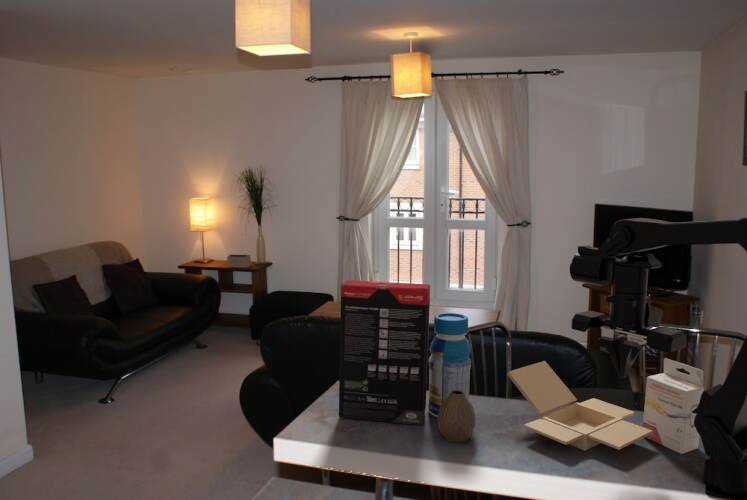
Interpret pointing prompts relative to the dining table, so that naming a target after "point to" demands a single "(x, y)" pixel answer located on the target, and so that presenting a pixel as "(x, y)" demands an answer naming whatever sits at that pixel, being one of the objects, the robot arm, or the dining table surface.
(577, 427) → the carton
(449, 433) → the vase
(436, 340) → the beverage bottle
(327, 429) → the dining table surface
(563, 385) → the flap
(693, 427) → the ink cartridge box
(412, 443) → the dining table surface
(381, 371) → the graphics card box
